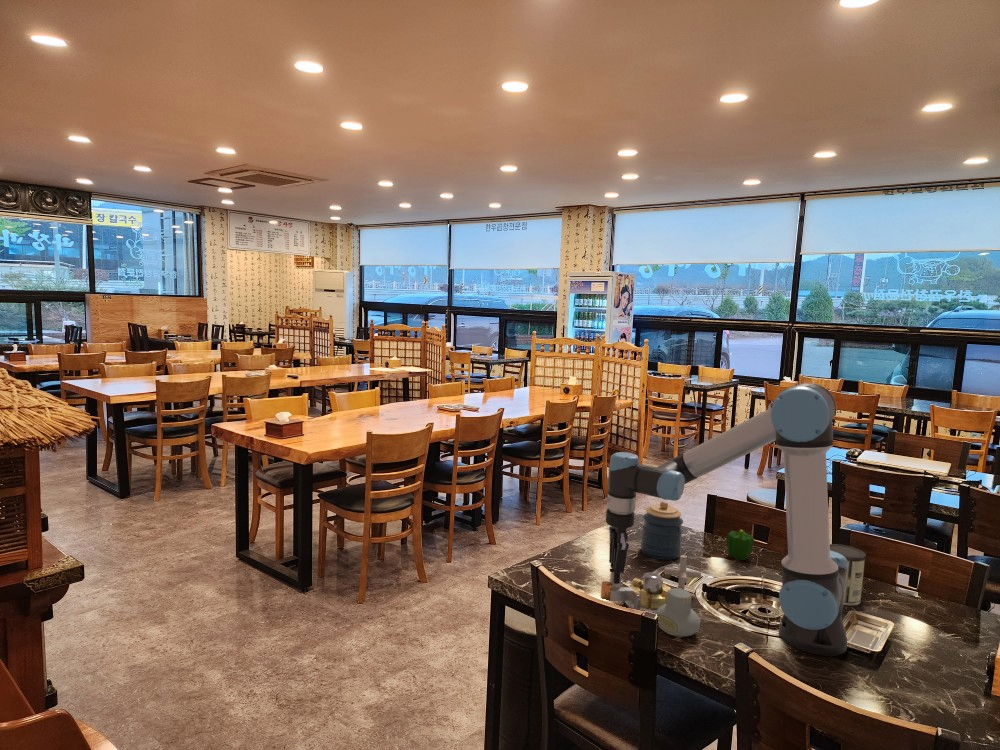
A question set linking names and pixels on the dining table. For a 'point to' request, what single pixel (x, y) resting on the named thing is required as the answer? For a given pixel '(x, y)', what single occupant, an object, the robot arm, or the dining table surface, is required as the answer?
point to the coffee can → (852, 572)
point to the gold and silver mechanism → (650, 583)
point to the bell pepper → (739, 544)
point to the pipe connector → (682, 572)
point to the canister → (662, 532)
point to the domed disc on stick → (635, 588)
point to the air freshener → (678, 614)
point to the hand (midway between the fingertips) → (614, 592)
